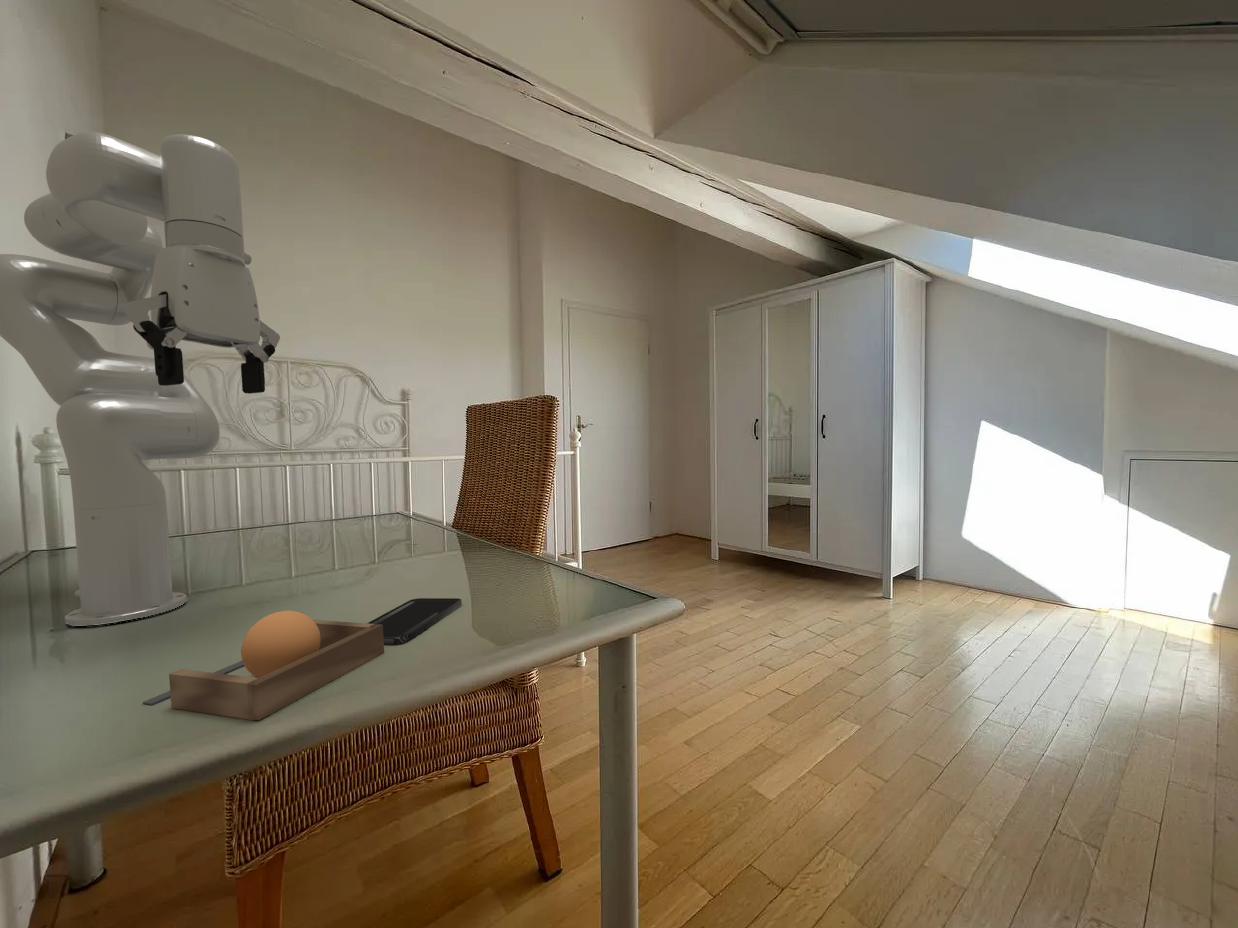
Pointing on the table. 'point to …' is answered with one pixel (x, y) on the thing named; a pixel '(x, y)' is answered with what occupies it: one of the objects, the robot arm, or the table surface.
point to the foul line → (167, 694)
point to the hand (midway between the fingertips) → (215, 389)
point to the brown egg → (279, 642)
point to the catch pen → (278, 675)
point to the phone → (414, 618)
